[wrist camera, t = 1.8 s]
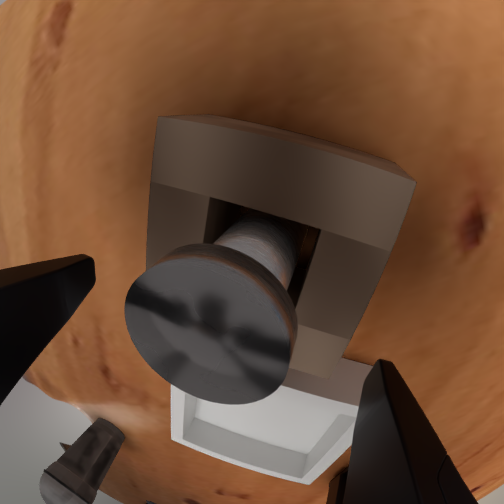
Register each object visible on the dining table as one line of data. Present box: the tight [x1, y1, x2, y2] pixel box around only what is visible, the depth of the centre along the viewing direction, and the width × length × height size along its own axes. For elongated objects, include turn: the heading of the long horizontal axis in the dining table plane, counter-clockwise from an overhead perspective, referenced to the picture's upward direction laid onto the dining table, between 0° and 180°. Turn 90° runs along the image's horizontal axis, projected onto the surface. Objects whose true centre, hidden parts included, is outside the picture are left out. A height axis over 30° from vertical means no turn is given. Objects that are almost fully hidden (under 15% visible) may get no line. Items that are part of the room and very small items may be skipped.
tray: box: [171, 358, 373, 485], centre depth 19 cm, size 12×12×4 cm
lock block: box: [146, 114, 417, 379], centre depth 13 cm, size 9×9×4 cm
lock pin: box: [125, 208, 308, 405], centre depth 11 cm, size 4×4×9 cm
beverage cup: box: [40, 418, 125, 504], centre depth 25 cm, size 7×7×20 cm
